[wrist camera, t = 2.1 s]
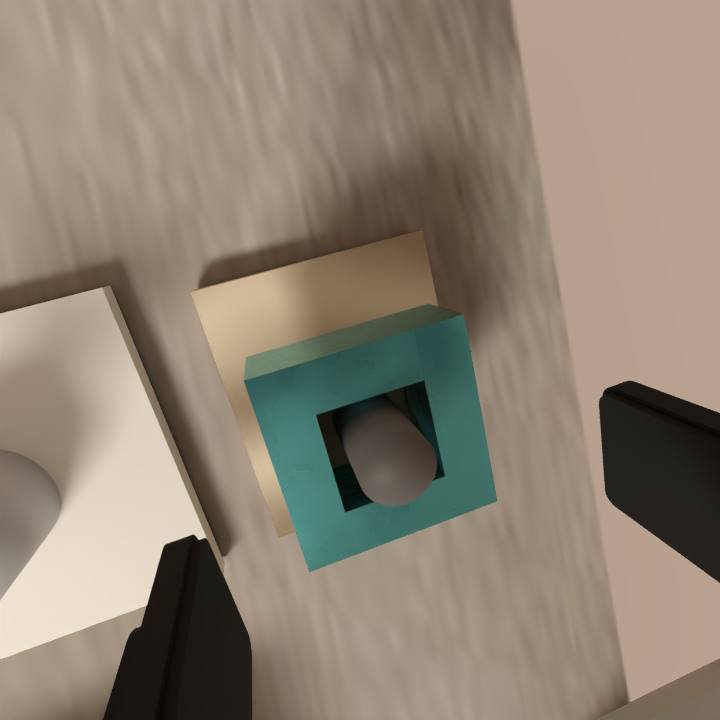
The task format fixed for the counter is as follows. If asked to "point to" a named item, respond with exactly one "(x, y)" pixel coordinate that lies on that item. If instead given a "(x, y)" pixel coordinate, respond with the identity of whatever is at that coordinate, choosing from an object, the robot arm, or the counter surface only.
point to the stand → (317, 317)
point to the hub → (82, 472)
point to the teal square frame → (358, 382)
